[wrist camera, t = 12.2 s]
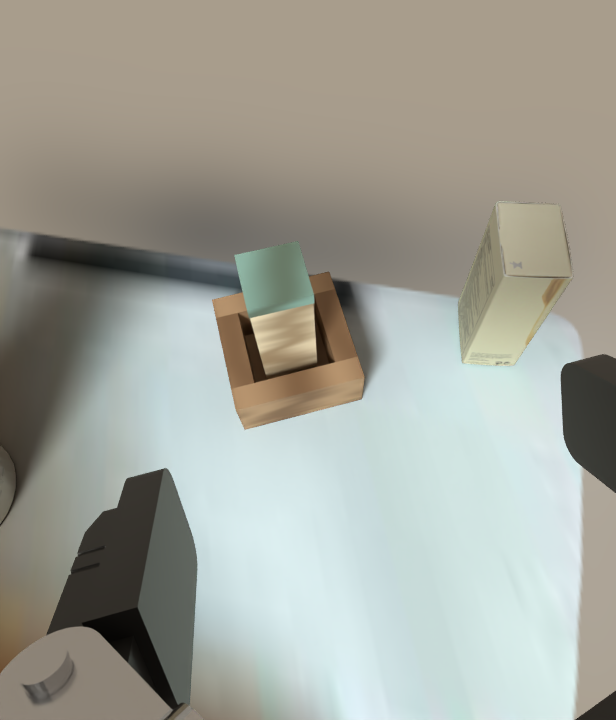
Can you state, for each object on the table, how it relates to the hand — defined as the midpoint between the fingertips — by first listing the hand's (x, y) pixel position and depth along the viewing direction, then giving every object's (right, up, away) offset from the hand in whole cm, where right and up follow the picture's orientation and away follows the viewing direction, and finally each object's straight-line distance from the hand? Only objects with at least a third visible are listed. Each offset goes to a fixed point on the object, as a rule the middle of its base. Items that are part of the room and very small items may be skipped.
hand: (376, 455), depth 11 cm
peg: (-3, +2, +33) cm, 33 cm away
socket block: (-3, +2, +34) cm, 34 cm away
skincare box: (+13, +4, +34) cm, 37 cm away
